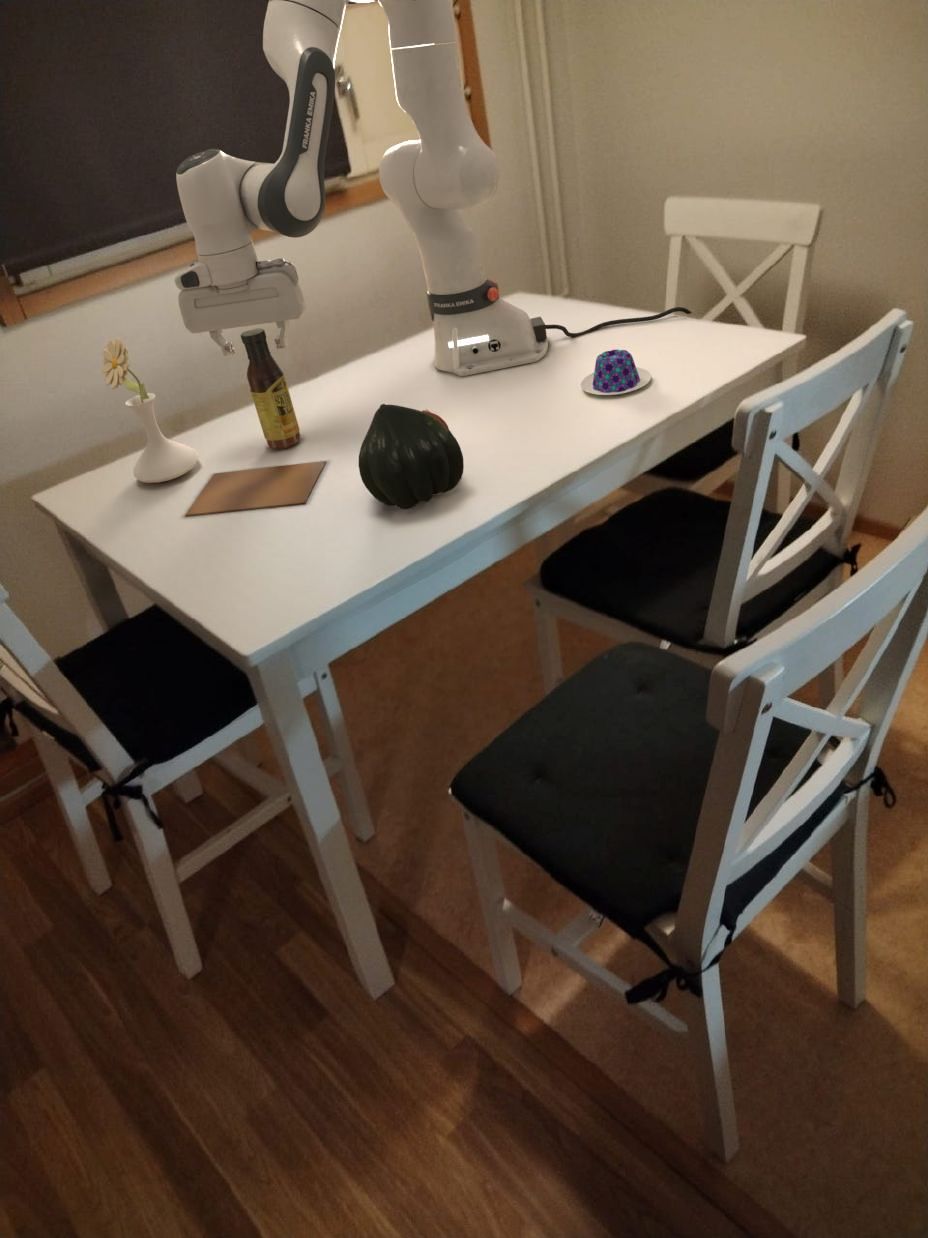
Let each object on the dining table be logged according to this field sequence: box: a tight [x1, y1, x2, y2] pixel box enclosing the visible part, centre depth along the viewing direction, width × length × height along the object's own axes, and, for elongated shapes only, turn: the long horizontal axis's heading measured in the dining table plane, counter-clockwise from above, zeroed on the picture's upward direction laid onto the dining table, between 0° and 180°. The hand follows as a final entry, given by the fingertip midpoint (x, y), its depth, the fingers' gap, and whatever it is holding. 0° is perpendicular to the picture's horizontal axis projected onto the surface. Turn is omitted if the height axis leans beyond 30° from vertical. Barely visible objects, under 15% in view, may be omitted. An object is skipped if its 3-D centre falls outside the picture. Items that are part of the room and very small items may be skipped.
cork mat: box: [184, 460, 327, 517], centre depth 151 cm, size 20×14×1 cm
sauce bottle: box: [240, 327, 301, 450], centre depth 159 cm, size 7×6×20 cm
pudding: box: [580, 349, 652, 396], centre depth 158 cm, size 12×12×5 cm
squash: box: [358, 403, 465, 510], centre depth 136 cm, size 14×15×15 cm
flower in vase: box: [101, 336, 199, 484], centre depth 154 cm, size 13×11×25 cm
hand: (256, 350), depth 155 cm, fingers open, 8 cm apart
